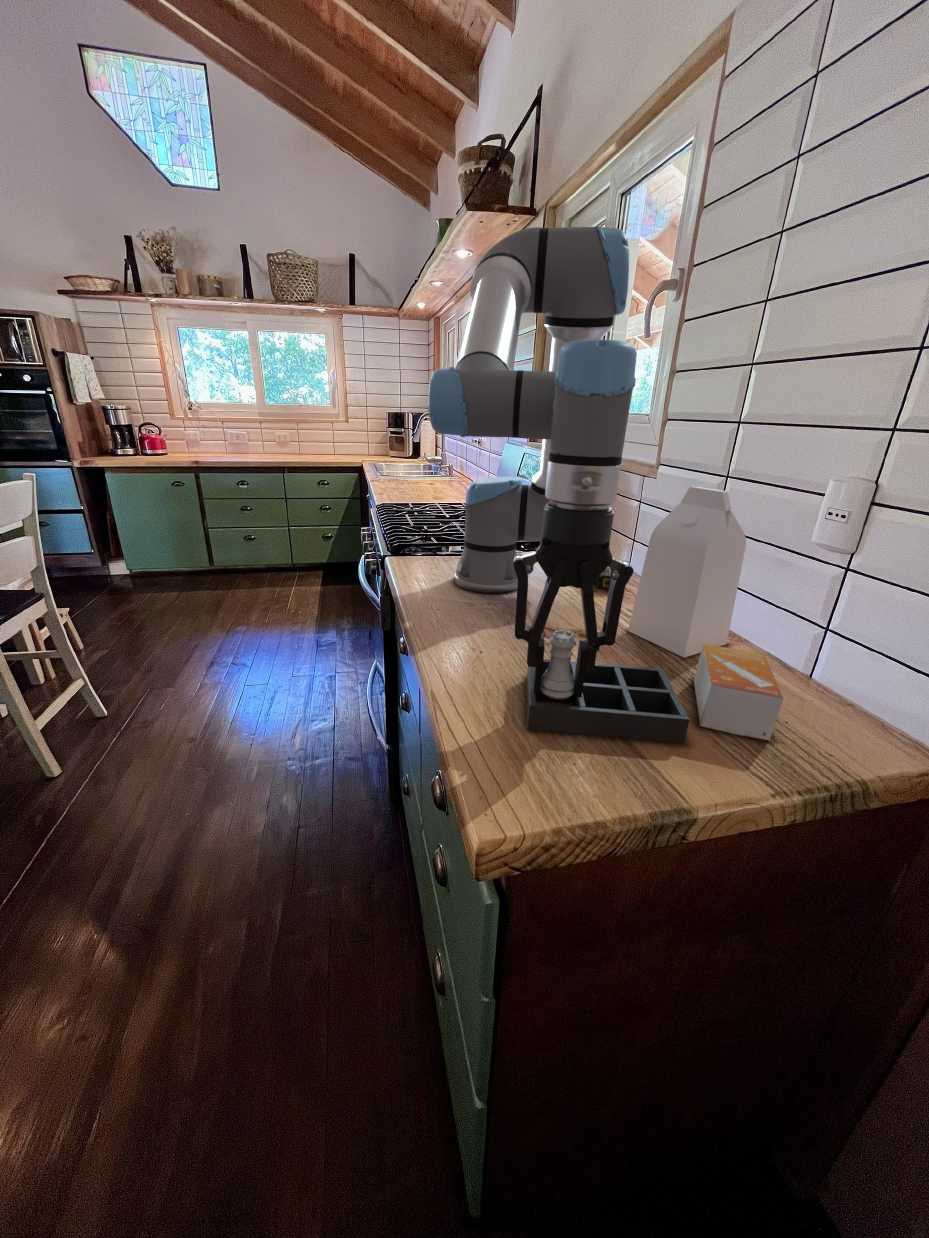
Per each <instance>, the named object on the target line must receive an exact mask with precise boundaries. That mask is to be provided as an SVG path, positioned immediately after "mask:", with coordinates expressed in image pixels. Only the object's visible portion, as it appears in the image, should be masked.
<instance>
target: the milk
mask: <svg viewBox="0 0 929 1238" xmlns="http://www.w3.org/2000/svg"><path fill="white" fill-rule="evenodd" d="M731 510H732V507H731V501H730V494H729V491H728V490H721V489H714V488H708V487H703V486H694V485H693V486H689V488H688V489H687V491H686V492H685V494H684V496H683V498H682V499H681V501H680V503H678V504H677V505H676V506H675V507H674V508H673V509H672V510H671V511H670V512H669V513H668V514H667V515H666V516H665V517H663V519H662V520H661V521H660V522H659V523H658V524H657V525H656V526H655V528H654V529H653V531H652V532H651V535H650V537H649V542H648V545H647V550H646V555H645V558H644V561H643V566H642V570H641V575H640V578H639V583H638V587H637V591H636V596H635V600H634V603H633V607H632V612H631V617H630V620H629V625H628V627H627V628H628V629H627V632H628V633H631V634H634V635H636V636H638V637H640V638H642V639H644V640H646V641H647V642H650V643H653V644H654V645H656V646H658V647H660V648H663V649H665V650H667V651H669V652H671V653H673V654H675V655H677V656H680V657H682V658H684V659H685V658H688V657H691V656H695V655H697V654H701V650H702V646H703V644H707V645H713V646H719V647H723V646H725V645H727V643H728V640H729V633H730V628H731V622H732V618H733V613H734V609H735V603H736V598H737V593H738V587H739V584H740V583H739V582H740V578H741V573H742V568H743V563H744V558H745V553H746V548H747V538H746V534H745V532H744V530H743V529H742V527H741V525H740V523H739V522H738V520H737V518H736V516H735V515H734V513H733V511H731Z"/></svg>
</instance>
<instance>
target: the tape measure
mask: <svg viewBox="0 0 929 1238" xmlns="http://www.w3.org/2000/svg"><path fill="white" fill-rule="evenodd" d="M609 570H610V568H609V567H607V568H606V569H605V570H604V571H603V572H602V573H601V574H600V575H599V576H598V577H597V578H596V579H595V580H594V581H593V588H595V589H606V590H609V587H610V581H611V576H610V574H609Z"/></svg>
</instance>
